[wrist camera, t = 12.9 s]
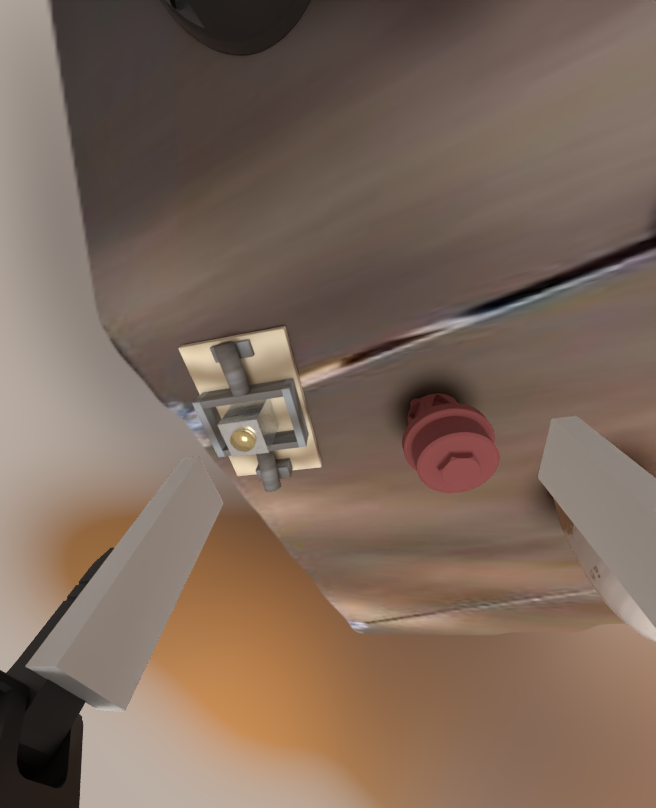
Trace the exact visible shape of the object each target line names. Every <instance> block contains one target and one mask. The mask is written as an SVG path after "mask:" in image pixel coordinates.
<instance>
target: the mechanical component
mask: <svg viewBox="0 0 656 808" xmlns="http://www.w3.org/2000/svg"><path fill="white" fill-rule="evenodd" d="M410 407H411V408H410V410H409V413H408V417H407V420H408V426H407V428H406V430H405V432H404V435H403V440H402V445H403V450H404V454H405V457H406V460H407V462H408V463H409V465H410V466H411V467H412V468H413V469H415V470H416V471H417V473H418V476H419V478H420V479H421V481H422V482H423V483H424V484H425V485H427V486H428V487H430V488H431V489H433V490H436V491H440V492H445V493H458V492H464V491H468V490H471V489H474V488H476V487H478V486H480V485H482V484H483V483H485V482H486V481H487V480H488V479H489V478H490V477H491V476H492V475H493V474H494V473H495V471H496V469H497V467H498V465H499V459H500V456H499V451H498V449H497V447H496V445H495V444H494V441H495V435H494V430H493V428H492V426H491V424H490V423H489V421H488V420H487V419H486V418H485V416H484V415H483V414H482V413H481V412H480V411H478V410H477V409H475V408H473V407H471V406H468V405H464V404H459V403H458V402H457V401H456V400H455V399H454V398H453V397H451V396H449V395H446V394H430V395H427V396H424V397H422V398H420V399H418V398H415V399H413V400H411V402H410Z"/></svg>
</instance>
